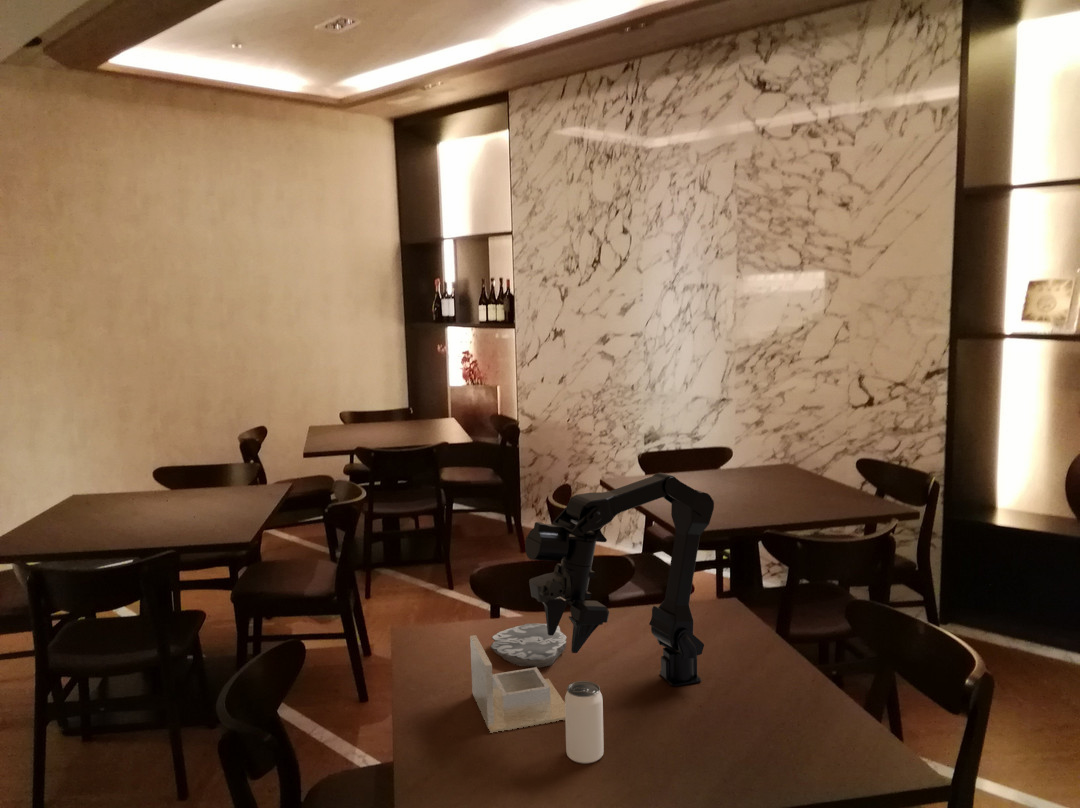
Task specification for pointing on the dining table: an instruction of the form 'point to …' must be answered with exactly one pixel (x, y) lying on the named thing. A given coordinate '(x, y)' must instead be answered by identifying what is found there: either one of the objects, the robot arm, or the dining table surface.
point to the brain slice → (529, 645)
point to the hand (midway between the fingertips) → (562, 643)
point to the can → (584, 722)
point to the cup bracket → (512, 694)
